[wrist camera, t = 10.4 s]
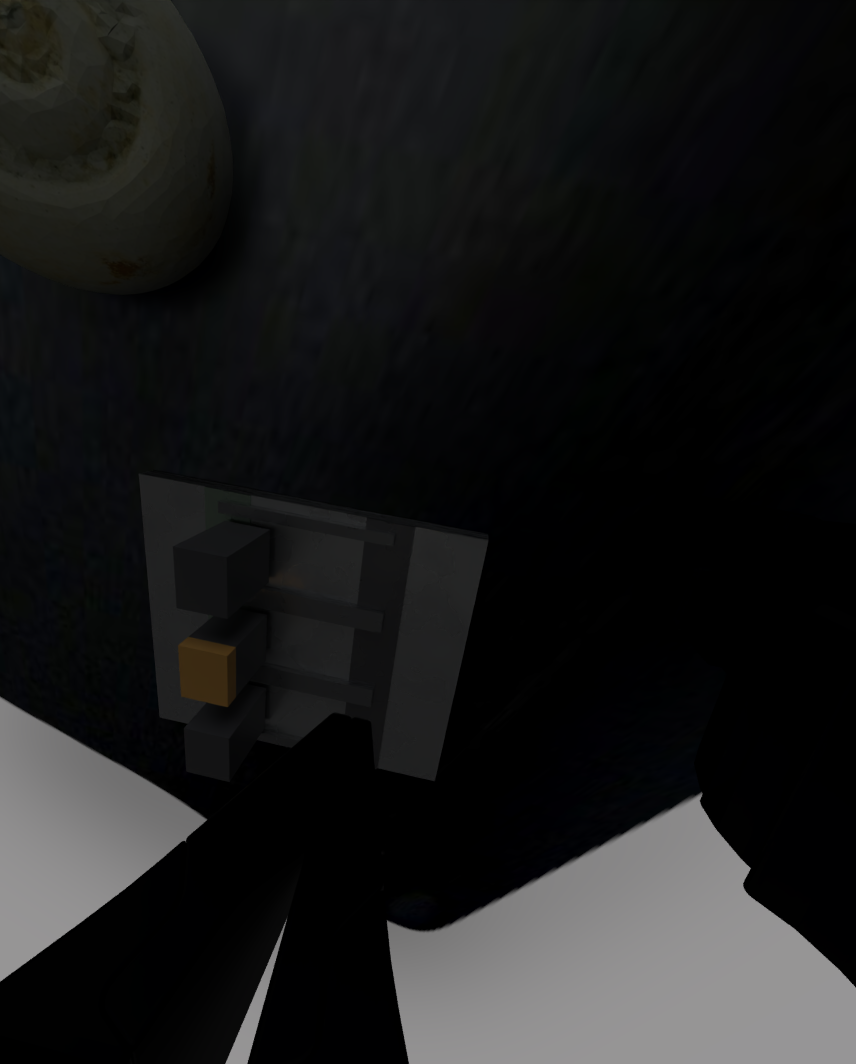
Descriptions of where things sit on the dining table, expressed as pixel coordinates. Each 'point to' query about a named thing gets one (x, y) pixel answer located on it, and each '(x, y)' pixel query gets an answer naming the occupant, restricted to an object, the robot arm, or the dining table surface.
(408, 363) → the dining table surface
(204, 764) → the handle
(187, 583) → the handle
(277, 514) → the panel
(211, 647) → the handle
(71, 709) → the dining table surface
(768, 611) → the robot arm
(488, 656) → the dining table surface
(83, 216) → the seashell
